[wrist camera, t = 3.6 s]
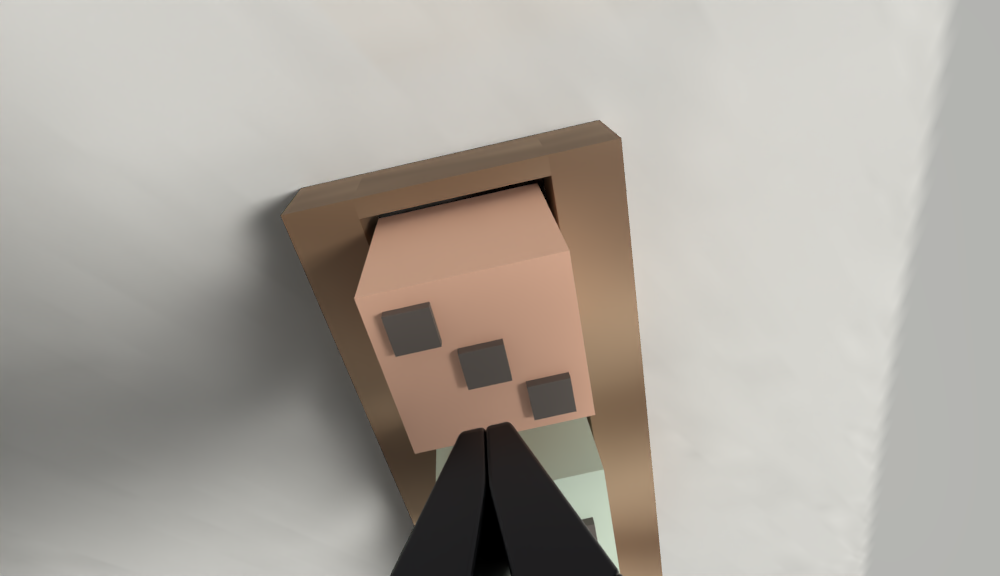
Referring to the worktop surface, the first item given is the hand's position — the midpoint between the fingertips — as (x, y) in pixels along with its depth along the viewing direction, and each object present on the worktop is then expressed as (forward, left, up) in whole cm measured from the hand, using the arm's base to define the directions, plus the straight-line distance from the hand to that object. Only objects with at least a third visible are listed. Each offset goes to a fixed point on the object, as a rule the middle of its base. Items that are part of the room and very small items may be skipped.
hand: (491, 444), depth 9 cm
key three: (0, 0, -6) cm, 6 cm away
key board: (-6, 0, -8) cm, 9 cm away
